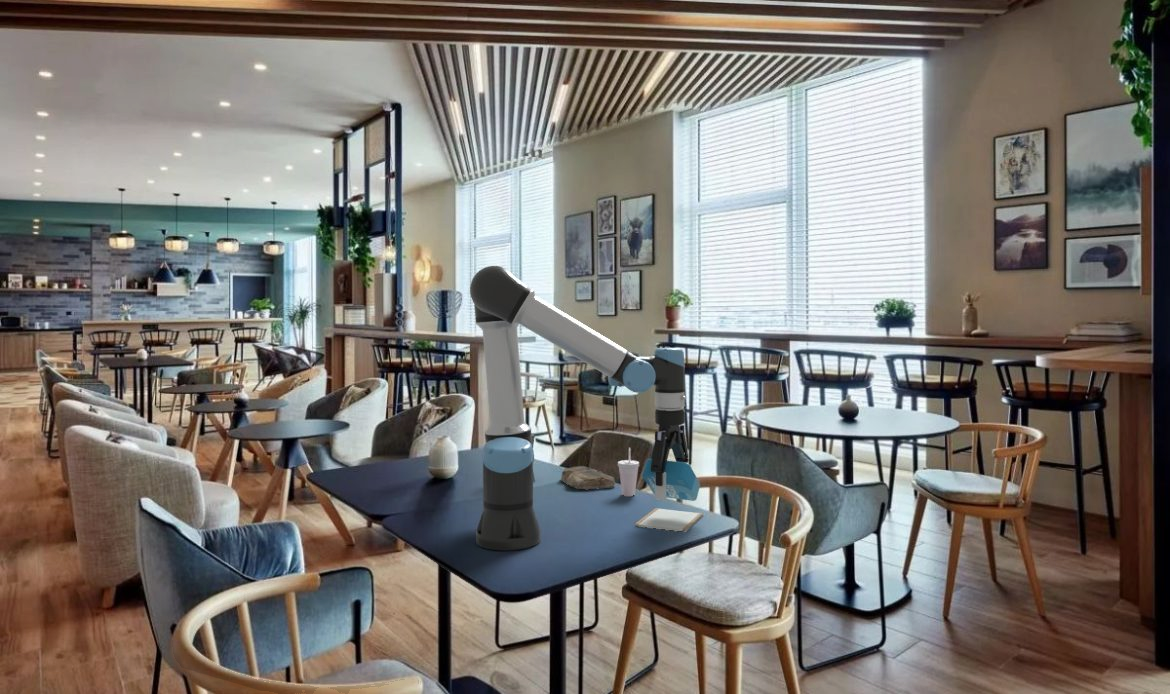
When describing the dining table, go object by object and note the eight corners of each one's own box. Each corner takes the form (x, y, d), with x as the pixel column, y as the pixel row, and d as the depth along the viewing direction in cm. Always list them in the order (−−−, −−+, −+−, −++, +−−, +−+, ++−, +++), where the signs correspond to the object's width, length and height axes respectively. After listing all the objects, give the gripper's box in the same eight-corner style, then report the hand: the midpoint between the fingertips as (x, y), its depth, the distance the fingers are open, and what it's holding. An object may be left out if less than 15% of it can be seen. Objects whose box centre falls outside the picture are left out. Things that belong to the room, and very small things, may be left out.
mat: (685, 532, 176) (685, 529, 176) (635, 526, 181) (635, 523, 181) (703, 515, 190) (703, 513, 190) (656, 510, 195) (656, 507, 195)
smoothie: (627, 498, 208) (626, 450, 208) (613, 494, 213) (613, 447, 213) (643, 495, 212) (643, 447, 211) (629, 491, 217) (629, 444, 217)
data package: (697, 501, 185) (654, 496, 191) (702, 486, 187) (659, 481, 193) (684, 478, 177) (640, 473, 183) (689, 462, 179) (644, 458, 185)
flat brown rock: (553, 479, 235) (574, 492, 216) (553, 464, 235) (574, 475, 216) (593, 476, 240) (617, 489, 222) (593, 462, 240) (617, 473, 221)
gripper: (664, 415, 172) (665, 505, 173) (700, 403, 193) (701, 484, 194) (636, 413, 176) (636, 501, 177) (674, 402, 197) (674, 481, 198)
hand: (670, 492), depth 185 cm, fingers closed on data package, 12 cm apart
